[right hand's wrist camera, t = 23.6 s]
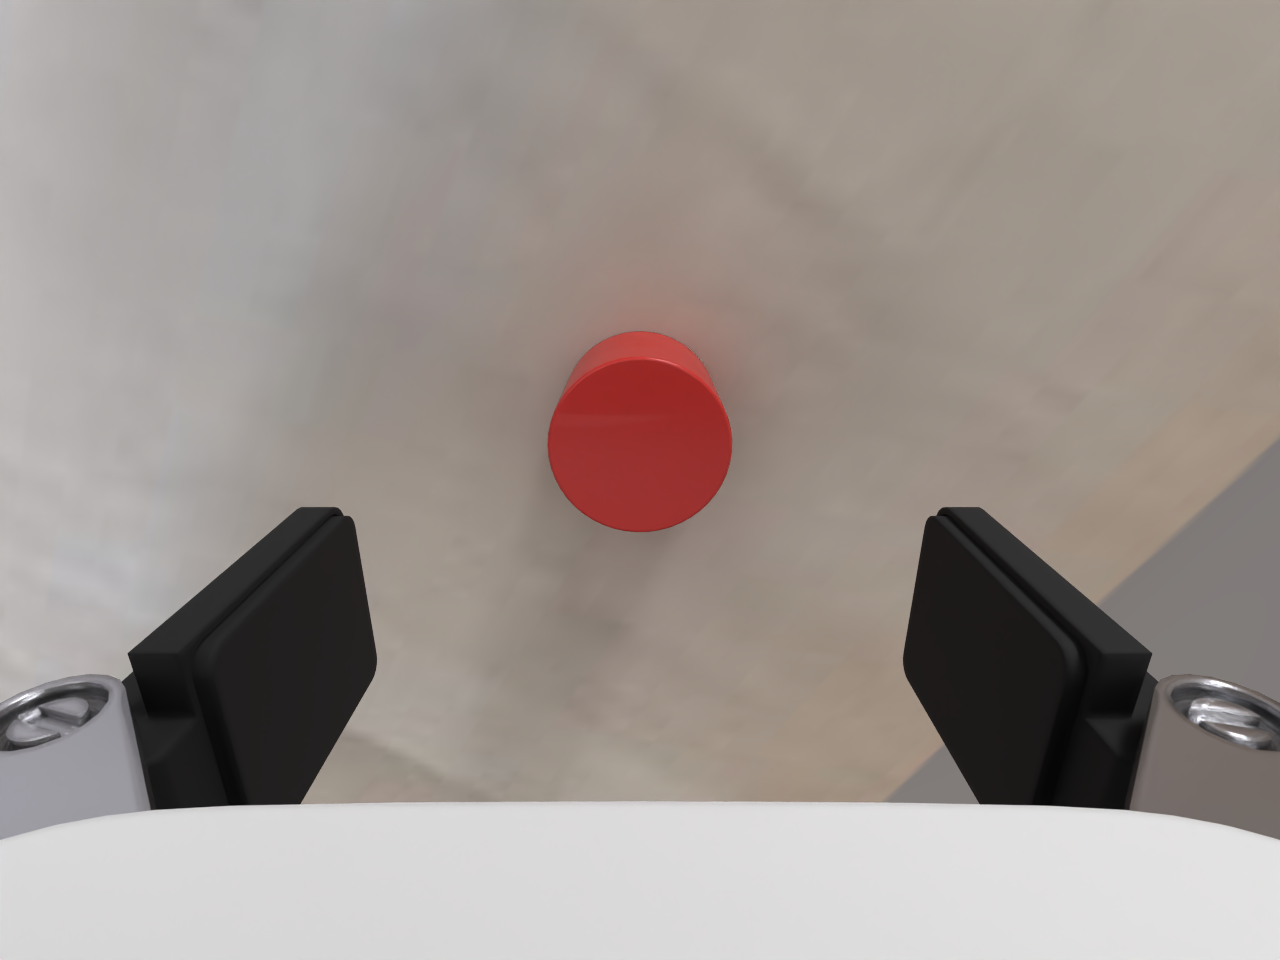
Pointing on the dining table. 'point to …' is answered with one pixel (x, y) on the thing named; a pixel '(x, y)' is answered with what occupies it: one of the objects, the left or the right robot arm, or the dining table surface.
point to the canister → (639, 434)
